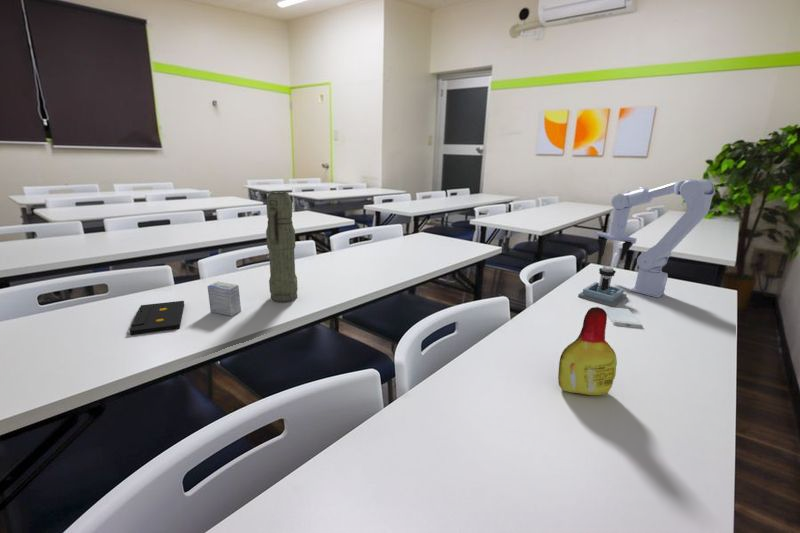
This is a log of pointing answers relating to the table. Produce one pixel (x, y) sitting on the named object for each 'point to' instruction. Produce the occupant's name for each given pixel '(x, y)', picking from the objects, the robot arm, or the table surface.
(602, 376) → the bottle
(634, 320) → the hard drive
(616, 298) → the end holder
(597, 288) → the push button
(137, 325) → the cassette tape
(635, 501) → the table surface
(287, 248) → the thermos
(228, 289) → the grey layered block
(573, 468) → the table surface
